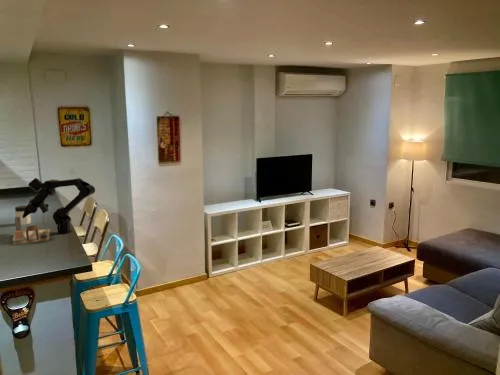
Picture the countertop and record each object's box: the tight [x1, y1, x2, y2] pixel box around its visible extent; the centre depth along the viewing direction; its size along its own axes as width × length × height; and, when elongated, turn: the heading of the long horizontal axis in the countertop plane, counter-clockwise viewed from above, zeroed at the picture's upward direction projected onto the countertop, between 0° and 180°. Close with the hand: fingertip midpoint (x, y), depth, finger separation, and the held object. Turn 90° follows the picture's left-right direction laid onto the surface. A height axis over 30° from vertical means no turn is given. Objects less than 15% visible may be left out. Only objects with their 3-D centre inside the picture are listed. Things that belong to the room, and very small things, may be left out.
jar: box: [14, 205, 32, 226], centre depth 286 cm, size 9×8×12 cm
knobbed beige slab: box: [12, 217, 26, 242], centre depth 250 cm, size 6×20×10 cm, turn 24°
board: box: [12, 228, 51, 246], centre depth 253 cm, size 18×25×1 cm
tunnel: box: [25, 224, 39, 241], centre depth 246 cm, size 6×8×7 cm
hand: (24, 215), depth 257 cm, fingers open, 9 cm apart
